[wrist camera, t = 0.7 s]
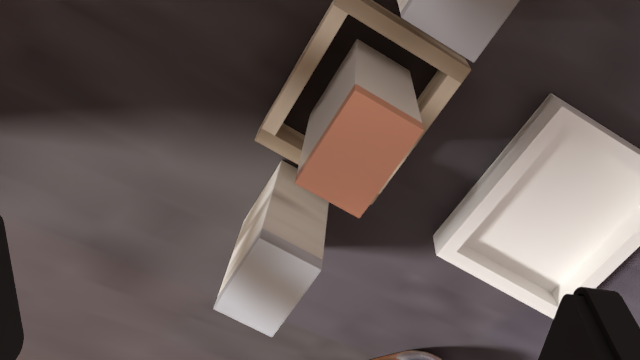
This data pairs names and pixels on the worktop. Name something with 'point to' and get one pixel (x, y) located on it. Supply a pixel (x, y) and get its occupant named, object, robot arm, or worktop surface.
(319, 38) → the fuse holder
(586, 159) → the tray
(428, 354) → the tin
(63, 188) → the worktop surface
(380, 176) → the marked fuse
